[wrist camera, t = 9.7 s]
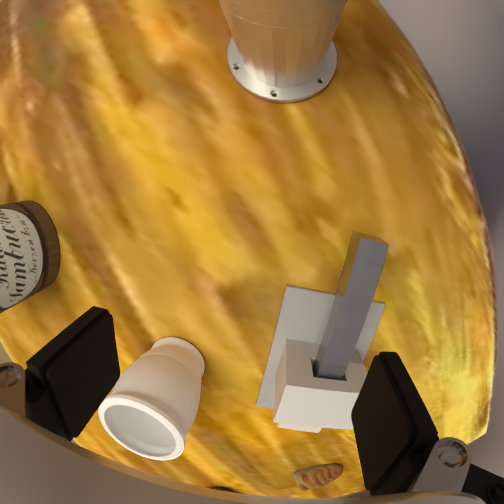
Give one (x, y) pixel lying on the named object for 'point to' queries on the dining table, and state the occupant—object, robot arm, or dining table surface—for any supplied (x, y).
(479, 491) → the robot arm
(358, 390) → the bearing block
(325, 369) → the shaft
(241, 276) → the dining table surface
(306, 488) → the pastry
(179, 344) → the jar
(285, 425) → the block
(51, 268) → the wooden container
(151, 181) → the dining table surface
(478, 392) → the dining table surface
